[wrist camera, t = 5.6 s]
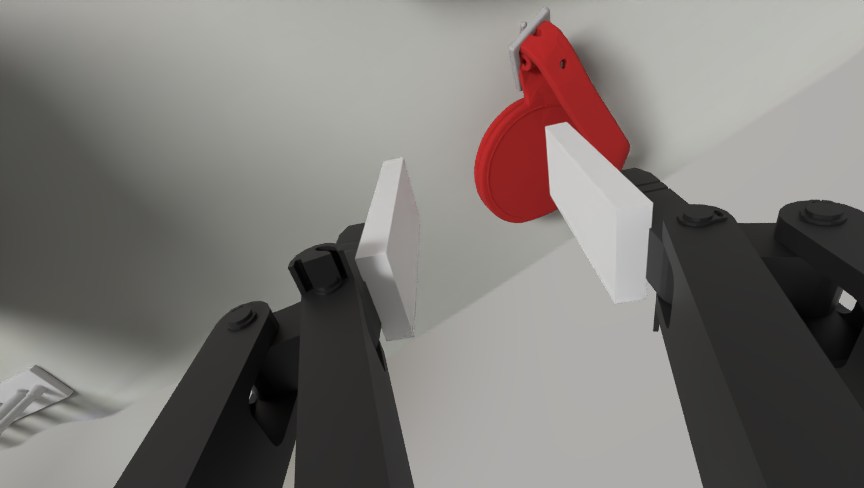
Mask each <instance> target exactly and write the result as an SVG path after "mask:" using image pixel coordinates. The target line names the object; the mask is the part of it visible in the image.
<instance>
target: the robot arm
mask: <svg viewBox="0 0 864 488" xmlns="http://www.w3.org/2000/svg"><path fill="white" fill-rule="evenodd" d="M545 132H546V145H547V159H548V172H549V186H550V195H551V197H552V199H553V200H554V202H555V204H556V206H557V207H558V209H559V211H560V212H561V214H562V216H563V217H564V219H565V221H566V222H567V224H568V226H569V227H570V229H571V231H572V233H573V234H574V236H575V238H576V239H577V241H578V243H579V244H580V246H581V248H582V249H583V251H584V253H585V255H586V256H587V258H588V260H589V261H590V263H591V265H592V266H593V268H594V270H595V271H596V273H597V275H598V276H599V278H600V280H601V282H602V283H603V285H604V287H605V288H606V290H607V292H608V293H609V295H610V297H611V298H612V300H613V302H614V304H619V303H625V302H632V301H637V300H644V299H646V292H647V281H648V282H649V283H650V284H651V286H652V287H653V288H654V290H655V291H656V292H657V294H656V305H655V316H654V329H653V331H657V332H658V330H659V325H660V328H661V331H662V335H663V339H664V343H665V346H666V350H667V354H668V357H669V361H670V365H671V369H672V373H673V376H674V380H675V384H676V387H677V391H678V395H679V399H680V402H681V406H682V410H683V414H684V417H685V421H686V425H687V429H688V432H689V436H690V440H691V444H692V447H693V451H694V454H695V458H696V462H697V466H698V470H699V473H700V477H701V481H702V484H703V488H864V212H862V211H860V210H858V209H855V208H853V207H850V206H847V205H845V204H840V203H835V202H832V201H827V200H822V201H820V200H809V201H797V202H794V203H790V204H787V205H785V206H784V207H783V208H781V209H780V211H779V215H778V218H777V222H776V223H737V222H736V220H735V219H734V217H733V216H732V215H730V214H729V213H728V212H727V211H725V210H722V209H720V208H717V207H714V206H708V205H696V204H688V203H687V202H686V201H684V200H683V199H682V198H681V197H680V196H679V195H677V194H676V193H675V192H674V191H672V190H671V189H668V187H667V186H666V185H665V184H664V183H662V182H660V180H659V179H658V178H656V177H655V176H654V175H653V174H651V173H649V172H646V171H643V170H640V169H637V168H632V169H627V170H622V171H619V170H617V169H616V168H615V167H614V166H613V165H612V164H611V163H610V162H609V161H608V160H607V159H606V158H605V157H604V156H603V155H601V154H600V153H599V152H598V151H597V150H596V149H595V148H594V147H593V146H592V145H591V144H590V143H589V142H588V141H587V140H585V139H584V138H583V137H582V136H581V135H580V134H579V133H578V132H577V131H576V130H575V129H574V128H573V127H572V126H571V125H570V124H568V123H567V122H564V123H559V124H554V125H550V126H545ZM419 235H420V217H419V214H418V210H417V206H416V202H415V199H414V195H413V191H412V187H411V184H410V180H409V176H408V173H407V169H406V165H405V161H404V158H403V157H401V158H396V159H392V160H387V161H384V162H383V165H382V169H381V172H380V175H379V179H378V182H377V186H376V189H375V192H374V196H373V199H372V202H371V206H370V209H369V213H368V216H367V219H366V223H361V224H356V225H351V226H348V227H347V228H346V229H345V230H344V231H343V232H342V233H341V234H340V235H339V238H338V240H337V243H336V244H335V243H324V244H320V245H316V246H313V247H311V248H308V249H306V250H304V251H303V252H301V253H300V254H298V255H297V256H296V257H295V258H294V259H293V260H292V261H291V262H290V264H289V266H288V269H289V271H290V273H291V275H292V277H293V279H294V281H295V283H296V285H297V287H298V289H299V291H300V293H301V295H302V296H301V302H299V303H296V304H294V305H292V306H289V307H287V308H284V309H282V310H279V311H277V312H274V313H272V311H271V309H270V307H269V306H268V304H267V303H265V302H262V301H255V302H250V303H246V304H242V305H240V306H238V307H237V308H234V309H232V310H231V311H230V312H229V313H227V314H226V315H225V316H223V317H222V318H221V319H220V321H219V322H218V323H217V324H216V326H215V327H214V329H213V330H212V332H211V334H210V335H209V337H208V338H207V340H206V341H205V343H204V345H203V346H202V348H201V349H200V351H199V353H198V354H197V356H196V357H195V359H194V361H193V362H192V364H191V365H190V367H189V369H188V370H187V372H186V373H185V375H184V376H183V378H182V380H181V381H180V383H179V384H178V386H177V388H176V389H175V391H174V392H173V394H172V396H171V397H170V399H169V400H168V402H167V404H166V405H165V407H164V408H163V410H162V411H161V413H160V415H159V416H158V418H157V419H156V421H155V423H154V424H153V426H152V427H151V429H150V431H149V432H148V434H147V435H146V437H145V439H144V440H143V442H142V443H141V445H140V446H139V448H138V450H137V451H136V453H135V454H134V456H133V458H132V459H131V461H130V462H129V464H128V466H127V467H126V469H125V471H124V472H123V473H122V475H121V477H120V478H119V480H118V481H117V483H116V485H115V486H114V488H282V487H283V483H284V480H285V476H286V473H287V469H288V465H289V462H290V459H291V455H292V451H293V448H294V444H295V441H296V457H295V458H296V459H295V484H294V486H295V487H294V488H414V484H413V480H412V475H411V471H410V466H409V462H408V458H407V453H406V448H405V444H404V439H403V435H402V430H401V426H400V422H399V417H398V413H397V408H396V404H395V399H394V395H393V390H392V386H391V381H390V377H389V372H388V368H387V363H386V359H385V354H384V351H383V348H382V346H381V343H380V341H379V337H380V331H381V328H382V330H383V333H384V336H385V338H386V341H391V340H397V339H403V338H409V337H414V326H415V308H416V290H417V271H418V253H419ZM843 290H845V291H846V292H847V293H849V294H850V295H851V296H853V297H854V298H855V299H856V300H857V302H856V304H855V307H854V309H853V310H852V311H850V310H849V309H847V308H845V307H844V306H843V305H841V304H840V303H839V299H840V296H841V294H842V292H843ZM251 390H252V395H251V397H250V393H251ZM249 397H250V399H249Z"/></svg>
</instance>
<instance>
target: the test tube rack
mask: <svg viewBox="0 0 864 488" xmlns="http://www.w3.org/2000/svg"><path fill="white" fill-rule="evenodd" d="M73 392H74V391H73V390H72V389H70V388H69V387H67V386H66V385H64V384H63V383H61V382H60V381H58V380H57V379H55V378H54V377H52V376H51V375H50V374H48V373H47V372H45V371H44V370H42V369H41V368H39V367H38V366H36V365H34V366H32V367H30V368H27V369H25V370H23V371H21V372H19V373H17V374H15V375H13V376H11V377H9V378H7V379H5V380H3V381H1V382H0V434H1V433H2V432H3V431H4V430H5V429H6V428H7V427H8V426H9V425H10V424H11V423H12V422H13V421H15V420H17V419H19V418H22V417H24V416H26V415H28V414H31V413H33V412H35V411H37V410H40V409H42V408H44V407H47V406H49V405H51V404H53V403H56V402H58V401H60V400H63V399H65V398H67V397H69V396H70V395H71V394H72V393H73Z"/></svg>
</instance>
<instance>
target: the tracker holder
mask: <svg viewBox="0 0 864 488" xmlns="http://www.w3.org/2000/svg"><path fill="white" fill-rule="evenodd" d="M509 53H510V58H511V63H512V68H513V73H514V78H515V83H516V88H517V90H519V91H522V90H523V93H524V98H522V99H520V100H518V101H516V102H514V103H513V104H511V105H510V106H508V107H507V108H506V109H505V110H504V111H503V112H502V113H501V114H500V115H499V116H498V117H497V118H496V119H495V120H494V121H493V122H492V124H491V125H490V127H489V128H488V130H487V131H486V133H485V135H484V137H483V139H482V141H481V143H480V146H479V149H478V152H477V155H476V160H475V167H474V174H475V184H476V188H477V192H478V194H479V196H480V198H481V200H482V201H483V203H484V204H485V205H486V206H487V207H488V208H489V210H490V211H491V212H493V213H494V214H495V215H496V216H497V217H499V218H501V219H503V220H505V221H508V222H513V223H523V222H527V221H530V220H533V219H536V218H539V217H541V216H544V215H546V214H548V213H551V212H553V211H555V210H557V209H558V207H557V206H556V204H555V202H554V200H553V199H552V197H551V195H550V186H549V172H548V159H547V145H546V132H545V126H550V125H554V124H559V123H564V122H567V123H568V124H570V125H571V126H572V127H573V128H574V129H575V130H576V131H577V132H578V133H579V134H580V135H581V136H582V137H583V138H584V139H585V140H587V141H588V142H589V143H590V144H591V145H592V146H593V147H594V148H595V149H596V150H597V151H598V152H599V153H600V154H601V155H603V156H604V157H605V158H606V159H607V160H608V161H609V162H610V163H611V164H612V165H613V166H614V167H615V168H616V169H617V170H619V171H621V170H622V167H623V165H624V163H625V160H626V158H627V155H628V153H629V150H630V144H629V142H628V140H627V138H626V137H625V135H624V134H623V132H622V130H621V129H620V127H619V126H618V124H617V123H616V121H615V119H614V118H613V116H612V115H611V113H610V111H609V110H608V108H607V107H606V105H605V104H604V102H603V100H602V99H601V97H600V96H599V94H598V92H597V91H596V89H595V88H594V86H593V84H592V83H591V81H590V79H589V77H588V75H587V73H586V71H585V69H584V68H583V66H582V64H581V62H580V60H579V58H578V57H577V55H576V53H575V51H574V49H573V48H572V46H571V44H570V43H569V41H568V40H567V38H566V37H565V36H564V34H563V33H562V32H561V30H560V29H559V28H557V27H556V26H555V25H553V24H552V23H551V22H550V10H549V8H547V7H543V8H542V9H541V11H540V12H539V13H538V14H537V15H536V16H535V17H534V18H533V20H532V21H531V22H530V23H529V24H528V25H527V23H526V22H522V23H521V25H520V34H519V35H518V37H517V38H516V39H515V40H514V41H513V42H512V43H511V45H510V46H509ZM561 61H562V62H563V67H562V68H561V66H560V62H561Z"/></svg>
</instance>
